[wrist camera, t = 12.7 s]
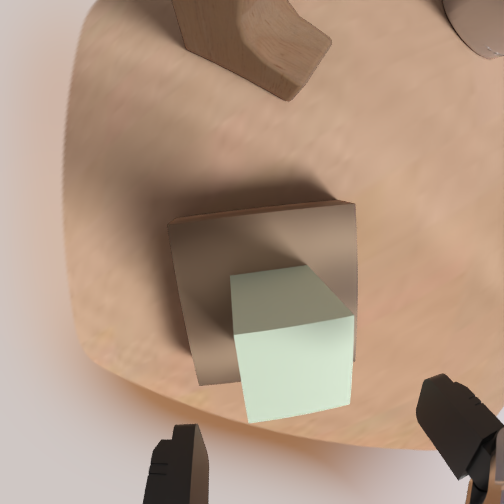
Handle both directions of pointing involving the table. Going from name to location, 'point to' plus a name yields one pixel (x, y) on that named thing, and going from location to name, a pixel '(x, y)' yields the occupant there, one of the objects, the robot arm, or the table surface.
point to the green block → (291, 343)
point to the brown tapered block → (255, 267)
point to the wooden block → (254, 40)
